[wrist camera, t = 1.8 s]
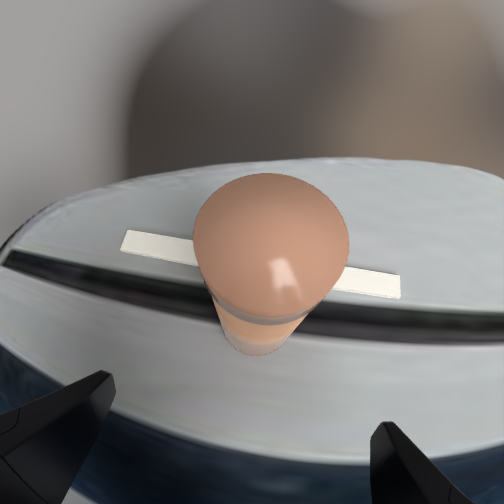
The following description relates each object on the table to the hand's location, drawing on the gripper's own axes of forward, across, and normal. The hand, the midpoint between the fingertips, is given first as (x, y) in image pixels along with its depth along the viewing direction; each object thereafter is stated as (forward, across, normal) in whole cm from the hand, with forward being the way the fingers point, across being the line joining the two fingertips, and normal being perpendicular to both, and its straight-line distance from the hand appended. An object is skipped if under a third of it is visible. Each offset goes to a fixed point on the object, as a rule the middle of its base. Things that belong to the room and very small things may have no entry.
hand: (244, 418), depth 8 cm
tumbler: (+13, 0, +4) cm, 13 cm away
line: (+16, +1, +1) cm, 16 cm away
